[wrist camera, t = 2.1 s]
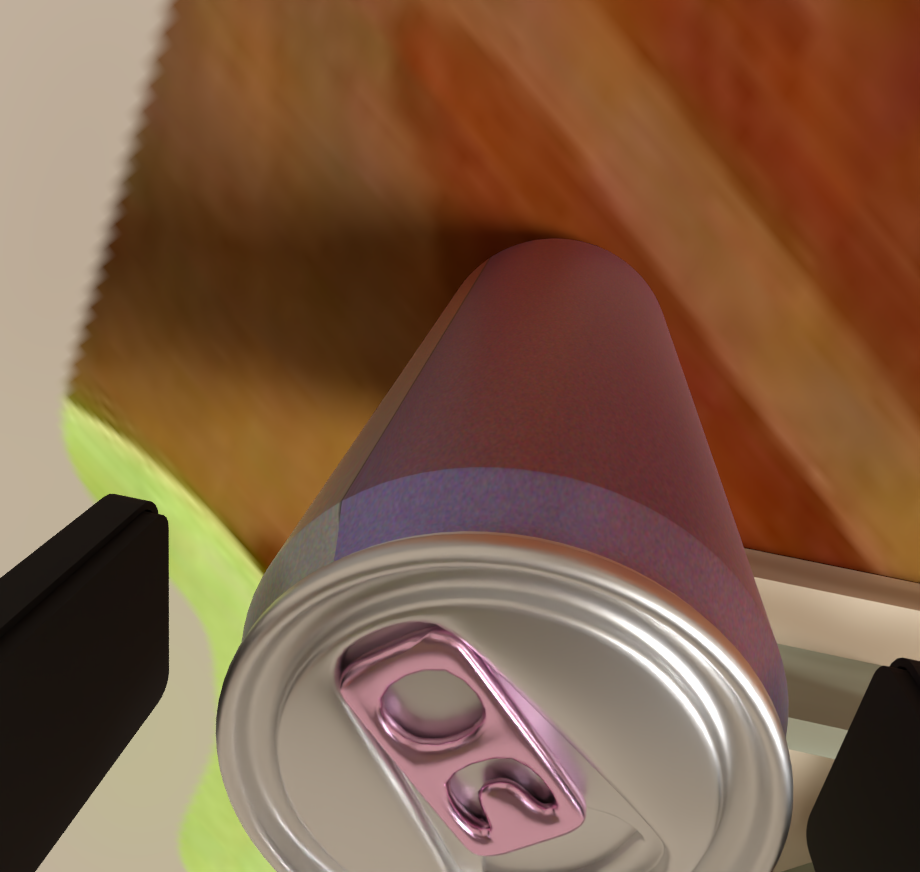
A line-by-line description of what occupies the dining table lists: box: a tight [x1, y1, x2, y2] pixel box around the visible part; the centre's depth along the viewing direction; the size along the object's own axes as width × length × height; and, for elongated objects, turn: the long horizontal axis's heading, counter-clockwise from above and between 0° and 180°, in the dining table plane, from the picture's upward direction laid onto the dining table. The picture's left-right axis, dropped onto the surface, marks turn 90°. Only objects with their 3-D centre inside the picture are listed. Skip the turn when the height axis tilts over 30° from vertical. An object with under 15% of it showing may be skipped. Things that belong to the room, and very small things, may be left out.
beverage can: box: [216, 238, 793, 872], centre depth 14 cm, size 6×6×15 cm
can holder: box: [744, 548, 920, 872], centre depth 23 cm, size 14×14×4 cm
